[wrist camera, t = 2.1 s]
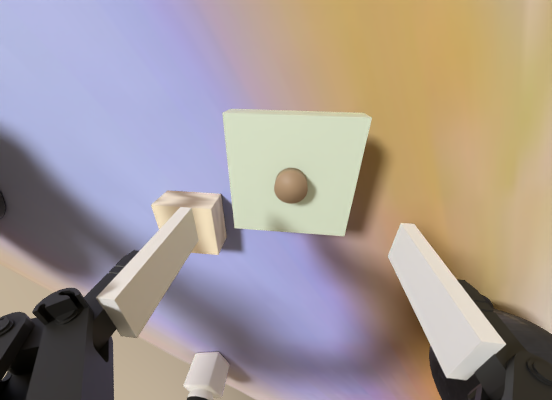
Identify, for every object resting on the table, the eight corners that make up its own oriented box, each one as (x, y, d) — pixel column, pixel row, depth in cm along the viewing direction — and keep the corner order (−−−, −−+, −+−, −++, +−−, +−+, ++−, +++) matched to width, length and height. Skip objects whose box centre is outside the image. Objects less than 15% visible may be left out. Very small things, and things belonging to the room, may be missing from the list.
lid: (239, 215, 26) (231, 236, 22) (230, 108, 20) (216, 115, 16) (340, 222, 25) (346, 245, 21) (363, 112, 19) (377, 120, 15)
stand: (179, 233, 35) (166, 250, 31) (167, 190, 31) (151, 204, 27) (226, 236, 34) (218, 254, 31) (221, 193, 30) (210, 208, 27)
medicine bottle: (195, 352, 56) (171, 414, 46) (218, 350, 54) (199, 415, 44) (207, 365, 59) (188, 426, 49) (230, 364, 57) (215, 427, 47)
